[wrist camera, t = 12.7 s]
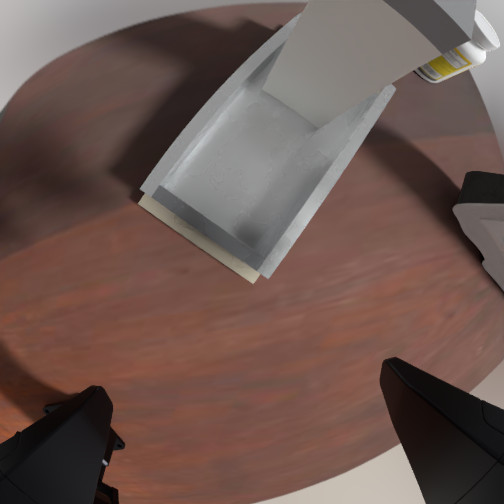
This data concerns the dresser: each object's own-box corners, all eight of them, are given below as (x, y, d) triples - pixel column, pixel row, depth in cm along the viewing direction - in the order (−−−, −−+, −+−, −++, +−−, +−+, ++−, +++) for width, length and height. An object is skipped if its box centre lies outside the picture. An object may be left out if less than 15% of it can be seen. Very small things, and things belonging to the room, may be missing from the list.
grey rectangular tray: (250, 280, 19) (260, 295, 16) (141, 204, 17) (126, 202, 14) (377, 97, 19) (402, 83, 15) (291, 30, 17) (305, 5, 13)
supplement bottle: (428, 44, 19) (486, 11, 9) (446, 86, 20) (512, 61, 10) (394, 36, 18) (454, -8, 9) (414, 81, 19) (487, 47, 10)
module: (319, 129, 17) (471, 40, 4) (261, 89, 16) (348, -61, 3) (348, 86, 17) (476, -2, 4) (296, 49, 16) (386, -75, 3)
